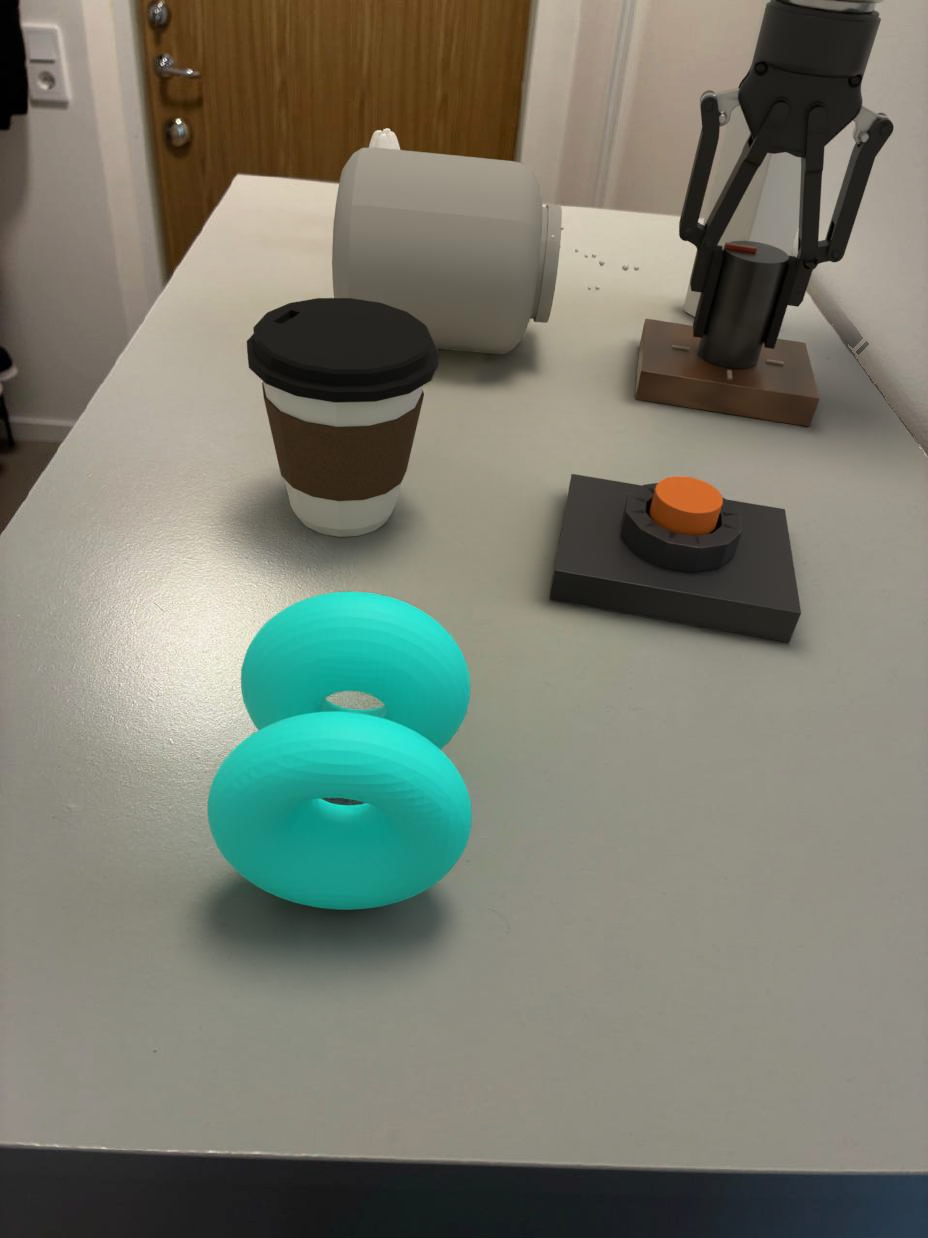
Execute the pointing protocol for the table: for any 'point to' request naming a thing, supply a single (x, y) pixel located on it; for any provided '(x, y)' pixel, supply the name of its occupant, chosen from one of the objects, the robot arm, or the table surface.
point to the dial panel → (725, 377)
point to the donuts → (346, 756)
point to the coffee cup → (342, 405)
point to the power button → (686, 505)
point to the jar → (448, 244)
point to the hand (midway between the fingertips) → (732, 335)
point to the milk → (756, 197)
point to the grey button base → (676, 562)
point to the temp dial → (742, 303)
